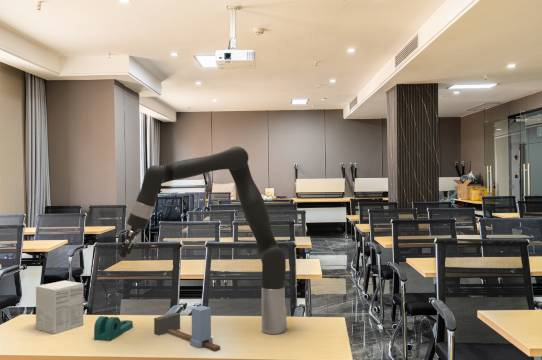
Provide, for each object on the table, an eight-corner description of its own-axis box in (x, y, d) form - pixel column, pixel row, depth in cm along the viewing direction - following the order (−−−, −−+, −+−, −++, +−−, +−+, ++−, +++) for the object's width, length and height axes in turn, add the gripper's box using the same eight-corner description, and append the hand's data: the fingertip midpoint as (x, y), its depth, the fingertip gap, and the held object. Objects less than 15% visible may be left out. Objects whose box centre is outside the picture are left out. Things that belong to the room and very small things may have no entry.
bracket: (110, 341, 154) (110, 320, 154) (94, 340, 155) (94, 319, 155) (135, 326, 171) (135, 307, 172) (121, 325, 173) (121, 306, 173)
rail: (172, 331, 164) (172, 328, 164) (220, 349, 144) (220, 346, 144) (166, 332, 162) (166, 329, 162) (215, 351, 143) (215, 348, 143)
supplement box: (84, 325, 173) (84, 283, 173) (54, 334, 161) (54, 289, 162) (65, 320, 180) (65, 279, 180) (34, 329, 168) (35, 285, 169)
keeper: (203, 340, 154) (203, 305, 154) (212, 343, 150) (212, 307, 151) (190, 344, 149) (190, 308, 149) (198, 348, 146) (198, 311, 146)
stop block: (175, 327, 169) (175, 312, 169) (180, 328, 167) (180, 313, 167) (154, 333, 161) (154, 318, 161) (158, 335, 159) (158, 319, 159)
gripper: (147, 219, 151) (130, 261, 150) (152, 217, 165) (137, 255, 164) (127, 212, 150) (110, 254, 149) (134, 210, 165) (119, 249, 163)
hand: (124, 255), depth 157 cm, fingers open, 8 cm apart
